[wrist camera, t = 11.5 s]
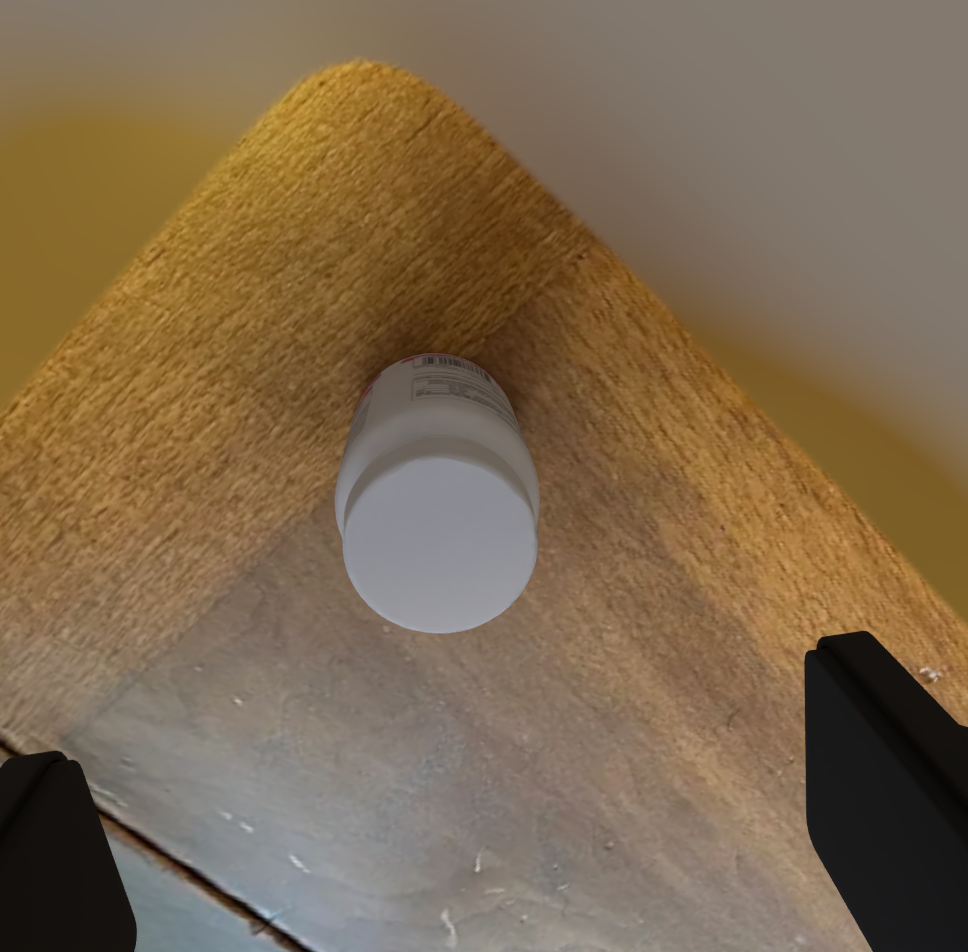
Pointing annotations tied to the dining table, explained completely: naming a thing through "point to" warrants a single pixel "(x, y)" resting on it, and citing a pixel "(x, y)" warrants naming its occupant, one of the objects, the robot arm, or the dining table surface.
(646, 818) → the dining table surface
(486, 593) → the pill bottle
